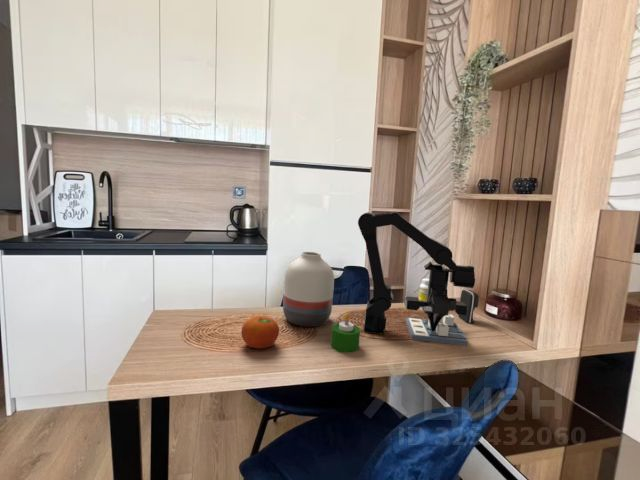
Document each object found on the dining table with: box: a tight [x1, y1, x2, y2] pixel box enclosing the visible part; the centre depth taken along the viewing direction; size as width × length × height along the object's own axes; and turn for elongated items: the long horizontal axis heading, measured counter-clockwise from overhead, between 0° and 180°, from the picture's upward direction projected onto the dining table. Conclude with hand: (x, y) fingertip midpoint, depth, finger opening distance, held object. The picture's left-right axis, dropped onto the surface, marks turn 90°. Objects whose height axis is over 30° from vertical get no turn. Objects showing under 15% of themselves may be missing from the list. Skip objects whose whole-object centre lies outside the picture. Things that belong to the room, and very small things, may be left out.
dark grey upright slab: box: [457, 289, 480, 324], centre depth 134 cm, size 7×4×11 cm, turn 10°
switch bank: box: [405, 317, 468, 346], centre depth 120 cm, size 17×16×2 cm
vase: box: [282, 251, 335, 328], centre depth 121 cm, size 17×17×24 cm
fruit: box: [241, 315, 280, 349], centre depth 101 cm, size 11×10×8 cm
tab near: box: [436, 323, 449, 336], centre depth 114 cm, size 3×3×3 cm
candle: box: [330, 313, 361, 354], centre depth 104 cm, size 8×8×10 cm
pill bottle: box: [418, 278, 429, 301], centre depth 149 cm, size 6×6×11 cm
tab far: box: [442, 313, 455, 326], centre depth 124 cm, size 3×3×3 cm
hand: (432, 330), depth 115 cm, fingers closed
